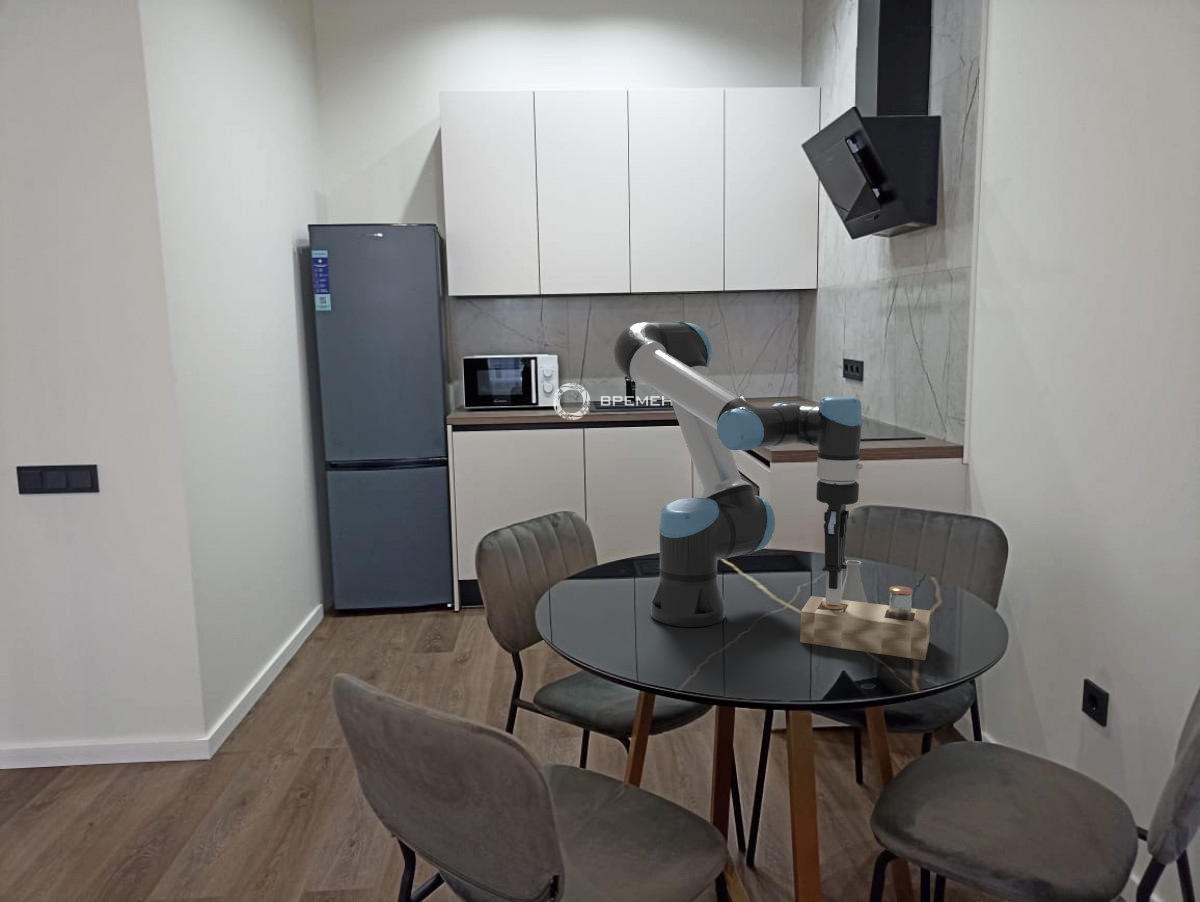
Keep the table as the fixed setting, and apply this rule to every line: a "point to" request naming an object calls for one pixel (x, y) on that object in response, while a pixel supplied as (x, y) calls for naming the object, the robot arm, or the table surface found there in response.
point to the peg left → (832, 607)
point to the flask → (853, 583)
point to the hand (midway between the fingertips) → (833, 603)
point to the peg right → (900, 603)
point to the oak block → (865, 628)
